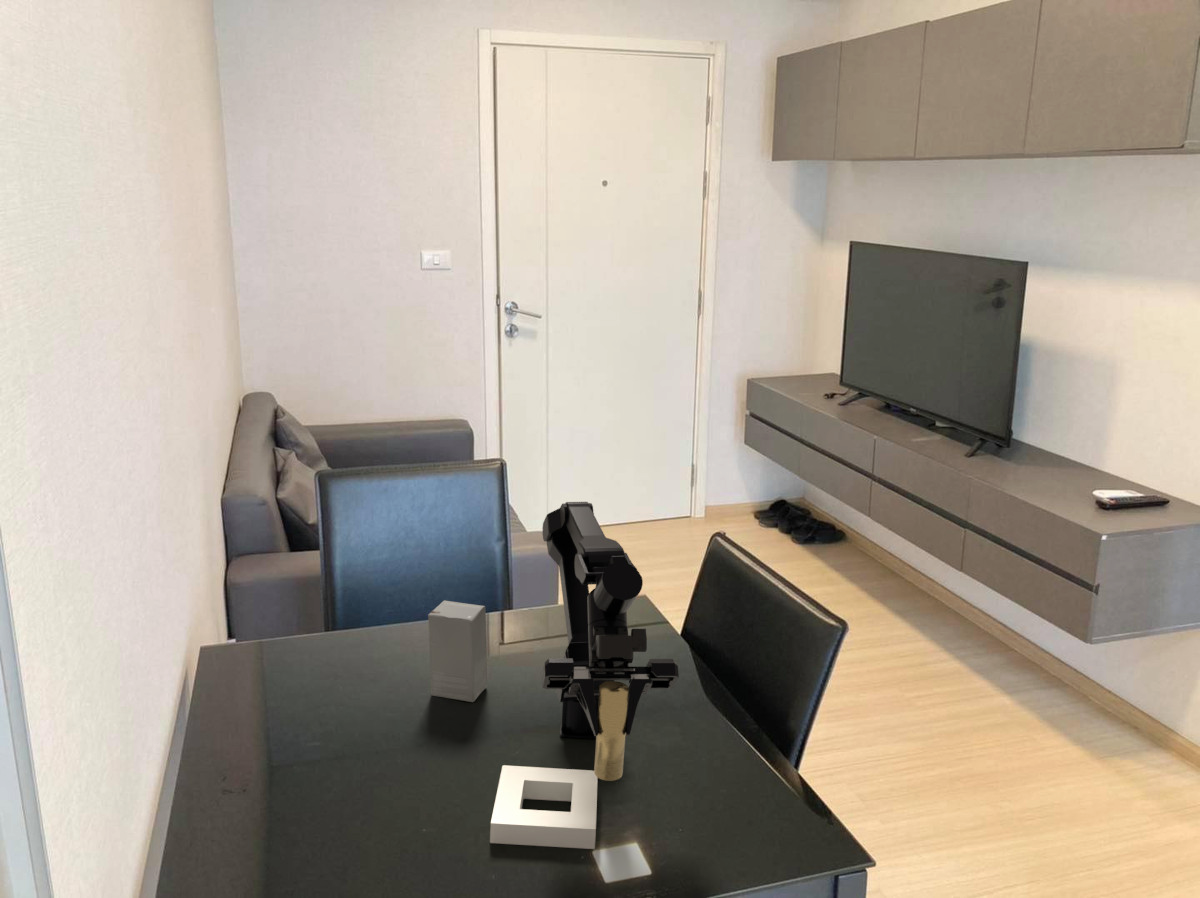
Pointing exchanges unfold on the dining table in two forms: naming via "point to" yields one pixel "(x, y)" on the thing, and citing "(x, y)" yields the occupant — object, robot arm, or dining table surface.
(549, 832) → the socket block
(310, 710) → the dining table surface
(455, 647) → the skincare box
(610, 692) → the brass tube
